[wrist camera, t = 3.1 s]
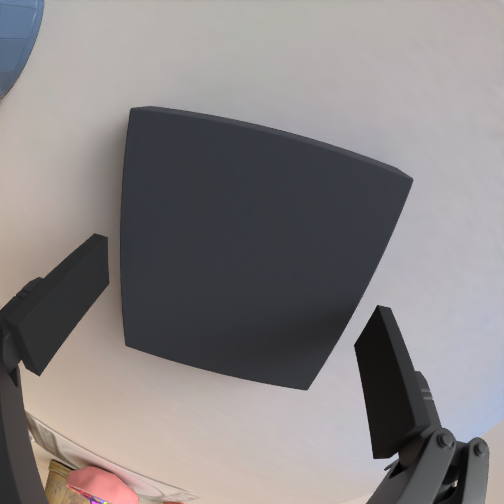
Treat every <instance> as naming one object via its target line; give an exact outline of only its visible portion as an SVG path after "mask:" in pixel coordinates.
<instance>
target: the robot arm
mask: <svg viewBox="0 0 504 504" xmlns="http://www.w3.org/2000/svg"><path fill="white" fill-rule="evenodd" d="M108 285H109V270H108V237H105V236H102V235H98V234H93V235H92V236H91V237H90V238H89V239H87V240H86V241H85V242H84V243H83V244H82V245H80V246H79V247H78V248H77V249H76V250H75V251H73V252H72V253H71V254H70V255H69V256H68V257H67V258H65V259H64V260H63V261H62V262H61V263H60V264H59V265H58V266H57V267H55V268H54V269H53V270H52V271H51V272H50V273H49V274H48V275H47V276H46V277H45V278H44V279H43V278H40V277H38V278H36V279H34V280H32V281H30V282H29V283H28V284H27V285H25V286H24V287H23V288H22V290H21V291H19V292H18V293H17V294H16V296H14V297H13V298H12V299H11V300H10V301H9V302H8V303H7V304H6V305H5V306H4V307H3V308H2V309H1V310H0V504H49V502H48V499H47V497H46V494H45V491H44V488H43V485H42V482H41V479H40V475H39V472H38V469H37V465H36V461H35V458H34V454H33V450H32V446H31V441H30V437H29V432H28V427H27V422H26V416H25V410H24V404H23V397H22V389H21V379H20V370H19V366H18V363H19V362H20V361H21V359H22V361H23V363H24V365H25V367H26V369H28V370H30V371H31V372H33V373H35V374H36V375H38V376H40V375H41V374H42V372H43V371H44V369H45V368H46V366H47V365H48V363H49V362H50V361H51V359H52V358H53V356H54V355H55V353H56V352H57V351H58V349H59V348H60V347H61V345H62V344H63V342H64V341H65V340H66V338H67V337H68V336H69V334H70V333H71V332H72V330H73V329H74V328H75V326H76V325H77V324H78V322H79V321H80V320H81V318H82V317H83V316H84V315H85V313H86V312H87V311H88V309H89V308H90V307H91V306H92V304H93V303H94V302H95V301H96V299H97V298H98V297H99V296H100V294H101V293H102V292H103V291H104V290H105V288H106V287H107V286H108ZM354 347H355V352H356V357H357V362H358V367H359V372H360V377H361V382H362V388H363V393H364V399H365V405H366V411H367V417H368V423H369V430H370V437H371V444H372V451H373V459H386V458H390V457H392V456H393V455H394V454H396V453H397V452H398V455H399V459H397V460H396V461H394V462H393V463H391V464H390V465H388V466H387V467H386V468H385V469H384V470H385V471H386V470H388V469H389V468H391V469H390V470H389V472H388V473H387V475H386V476H385V478H384V479H383V481H382V482H381V484H380V485H379V486H378V488H377V489H376V491H375V492H374V494H373V495H372V496H371V498H370V499H369V500H368V502H367V503H366V504H485V498H486V489H487V480H488V467H489V448H488V445H487V443H486V442H485V441H484V440H483V439H481V438H478V437H476V438H473V439H472V440H471V441H469V442H468V443H463V442H460V441H456V440H455V437H454V435H453V434H452V433H451V432H450V431H449V430H448V429H446V428H442V426H441V423H440V420H439V417H438V413H437V410H436V407H435V404H434V401H433V400H432V395H431V392H429V391H430V389H429V386H428V383H427V381H426V379H425V378H424V376H423V375H422V374H421V372H420V371H415V370H414V367H413V364H412V362H411V359H410V356H409V353H408V351H407V348H406V345H405V343H404V340H403V337H402V335H401V332H400V330H399V327H398V325H397V322H396V320H395V317H394V315H393V313H392V310H391V308H389V307H384V306H380V305H377V307H376V309H375V311H374V312H373V314H372V316H371V318H370V319H369V321H368V323H367V324H366V326H365V328H364V330H363V331H362V333H361V335H360V336H359V338H358V339H357V341H356V343H355V344H354ZM457 480H458V482H457V486H456V487H454V484H455V481H457Z"/></svg>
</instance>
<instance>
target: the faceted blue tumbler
mask: <svg viewBox="0 0 504 504" xmlns="http://www.w3.org/2000/svg"><path fill="white" fill-rule="evenodd" d="M43 8H44V0H0V99H1V98H2V97H3V96H4V95H5V94H6V93H7V92H8V91H9V90H10V88H11V87H12V86H13V84H14V83H15V81H16V80H17V78H18V77H19V75H20V73H21V71H22V70H23V68H24V66H25V64H26V62H27V60H28V57H29V55H30V53H31V50H32V48H33V46H34V43H35V40H36V37H37V34H38V31H39V27H40V24H41V19H42V14H43Z"/></svg>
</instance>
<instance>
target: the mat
mask: <svg viewBox="0 0 504 504" xmlns="http://www.w3.org/2000/svg"><path fill="white" fill-rule="evenodd" d="M412 183H413V179H412V178H411V177H410V176H408V175H407V174H405V173H404V172H402V171H401V170H399V169H397V168H395V167H393V166H390V165H387V164H385V163H382V162H379V161H377V160H374V159H371V158H369V157H366V156H363V155H360V154H357V153H354V152H352V151H349V150H346V149H343V148H339V147H336V146H333V145H330V144H327V143H324V142H320V141H317V140H314V139H310V138H307V137H303V136H300V135H296V134H292V133H289V132H285V131H281V130H277V129H273V128H269V127H265V126H261V125H257V124H252V123H248V122H243V121H238V120H234V119H229V118H224V117H218V116H213V115H207V114H202V113H196V112H190V111H183V110H176V109H169V108H161V107H153V106H147V107H136V108H131V110H130V116H129V123H128V131H127V139H126V148H125V157H124V168H123V181H122V197H121V223H120V271H121V296H122V313H123V325H124V336H125V345H126V346H128V347H131V348H134V349H137V350H140V351H143V352H146V353H149V354H152V355H155V356H158V357H161V358H165V359H168V360H171V361H175V362H178V363H182V364H185V365H189V366H192V367H196V368H200V369H204V370H207V371H211V372H215V373H219V374H224V375H228V376H232V377H237V378H241V379H246V380H250V381H255V382H260V383H265V384H271V385H276V386H282V387H288V388H294V389H300V390H308V389H309V387H310V385H311V384H312V382H313V381H314V379H315V378H316V376H317V375H318V373H319V371H320V370H321V368H322V367H323V365H324V363H325V362H326V360H327V358H328V357H329V355H330V354H331V352H332V350H333V348H334V347H335V345H336V343H337V342H338V340H339V338H340V337H341V335H342V333H343V331H344V329H345V328H346V326H347V324H348V322H349V321H350V319H351V317H352V315H353V313H354V311H355V309H356V308H357V306H358V304H359V302H360V300H361V298H362V296H363V294H364V292H365V290H366V288H367V286H368V284H369V282H370V280H371V278H372V276H373V274H374V272H375V270H376V268H377V266H378V264H379V262H380V260H381V258H382V255H383V253H384V251H385V249H386V247H387V244H388V242H389V240H390V238H391V235H392V233H393V231H394V228H395V226H396V224H397V221H398V219H399V216H400V214H401V212H402V209H403V207H404V204H405V202H406V199H407V196H408V194H409V191H410V189H411V186H412Z"/></svg>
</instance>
